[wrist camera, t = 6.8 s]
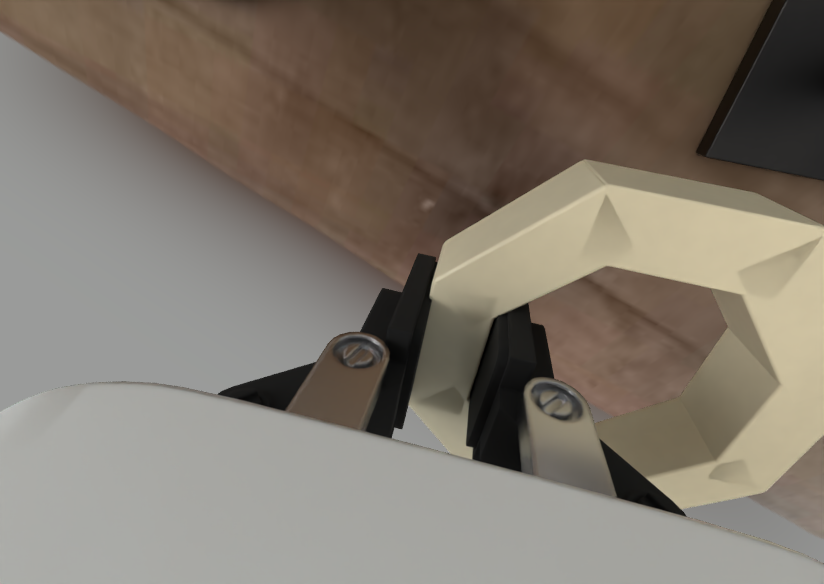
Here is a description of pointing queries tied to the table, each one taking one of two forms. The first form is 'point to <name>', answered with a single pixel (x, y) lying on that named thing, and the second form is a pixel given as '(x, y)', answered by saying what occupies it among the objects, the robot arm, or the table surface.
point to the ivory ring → (668, 258)
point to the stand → (776, 96)
